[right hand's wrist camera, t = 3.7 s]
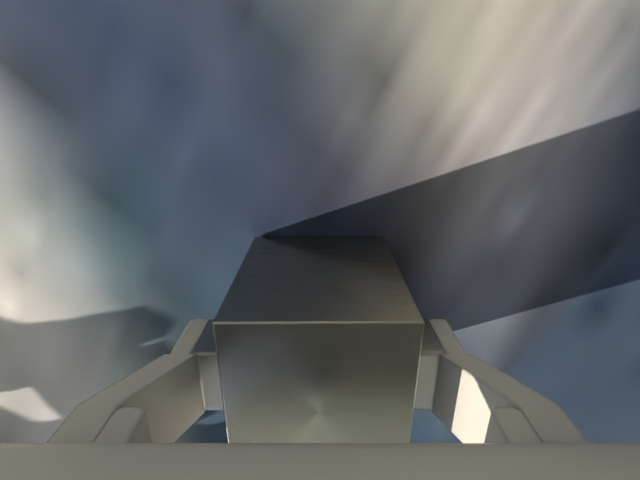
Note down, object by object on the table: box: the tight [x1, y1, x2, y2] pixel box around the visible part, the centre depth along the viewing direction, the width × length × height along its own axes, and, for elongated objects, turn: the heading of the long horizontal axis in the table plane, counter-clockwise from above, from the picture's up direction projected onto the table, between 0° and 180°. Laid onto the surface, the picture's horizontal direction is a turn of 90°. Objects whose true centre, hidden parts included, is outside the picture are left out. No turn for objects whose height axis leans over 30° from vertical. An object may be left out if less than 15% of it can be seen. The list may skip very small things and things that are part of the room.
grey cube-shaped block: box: [213, 237, 425, 443], centre depth 10 cm, size 4×5×5 cm
